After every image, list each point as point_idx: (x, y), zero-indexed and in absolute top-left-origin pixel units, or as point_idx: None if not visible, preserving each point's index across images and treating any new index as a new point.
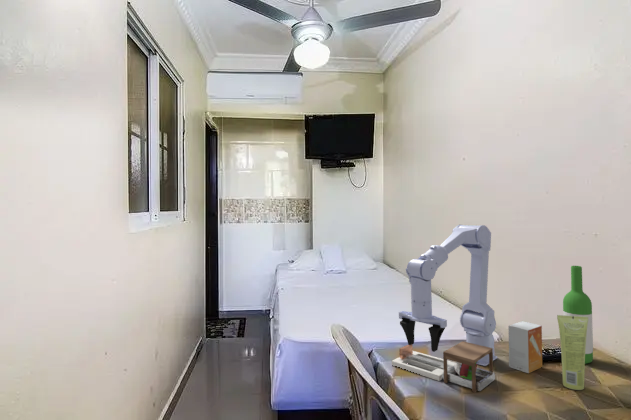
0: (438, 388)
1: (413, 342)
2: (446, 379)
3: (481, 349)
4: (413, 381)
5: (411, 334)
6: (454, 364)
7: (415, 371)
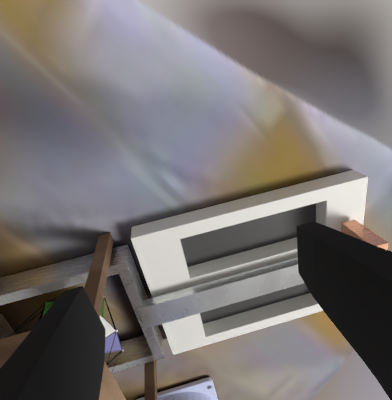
0: (76, 177)
1: (304, 275)
2: (97, 245)
3: None
4: (190, 135)
5: (365, 321)
6: (115, 331)
7: (242, 201)
